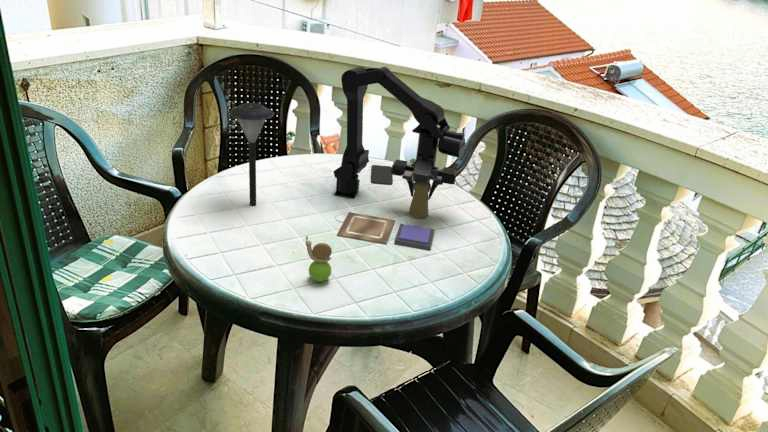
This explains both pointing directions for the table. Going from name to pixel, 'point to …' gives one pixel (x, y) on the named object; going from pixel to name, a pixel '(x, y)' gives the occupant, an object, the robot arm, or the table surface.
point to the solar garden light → (251, 135)
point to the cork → (420, 200)
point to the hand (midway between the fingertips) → (420, 197)
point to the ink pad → (414, 236)
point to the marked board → (366, 228)
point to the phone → (381, 175)
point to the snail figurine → (319, 261)
